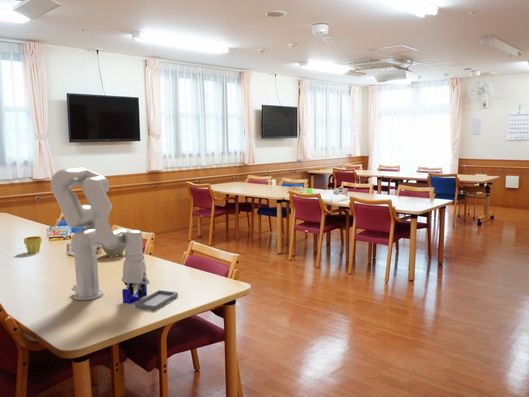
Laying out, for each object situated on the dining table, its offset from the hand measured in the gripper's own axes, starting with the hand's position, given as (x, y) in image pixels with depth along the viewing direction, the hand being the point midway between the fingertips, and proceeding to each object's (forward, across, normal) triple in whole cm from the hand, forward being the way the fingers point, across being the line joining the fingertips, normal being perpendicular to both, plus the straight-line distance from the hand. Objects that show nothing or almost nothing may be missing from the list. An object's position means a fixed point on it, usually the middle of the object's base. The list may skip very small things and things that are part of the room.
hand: (136, 296), depth 204 cm
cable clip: (+2, 0, 0) cm, 2 cm away
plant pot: (+2, -119, +51) cm, 129 cm away
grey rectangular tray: (+1, +11, 0) cm, 11 cm away
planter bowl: (+2, -63, +62) cm, 88 cm away
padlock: (+2, -14, +20) cm, 24 cm away
